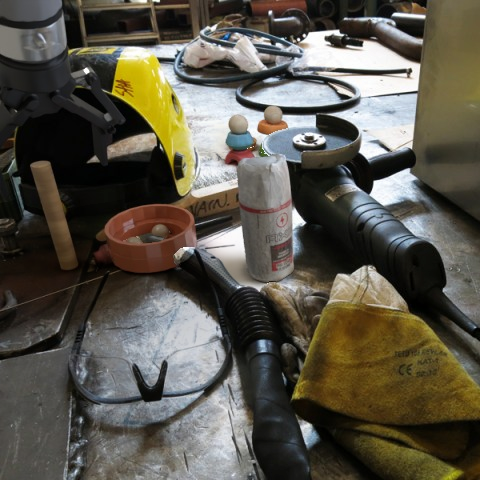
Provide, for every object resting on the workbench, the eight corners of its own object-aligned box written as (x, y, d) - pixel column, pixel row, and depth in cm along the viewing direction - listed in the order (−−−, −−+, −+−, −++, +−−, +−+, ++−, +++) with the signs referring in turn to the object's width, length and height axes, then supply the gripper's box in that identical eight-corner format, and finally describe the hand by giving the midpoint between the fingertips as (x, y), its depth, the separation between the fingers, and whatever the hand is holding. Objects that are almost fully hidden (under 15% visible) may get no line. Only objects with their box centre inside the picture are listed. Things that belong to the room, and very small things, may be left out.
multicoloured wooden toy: (241, 139, 135) (239, 95, 128) (294, 151, 128) (294, 104, 121) (199, 159, 121) (194, 110, 114) (255, 174, 114) (253, 122, 108)
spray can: (250, 288, 75) (243, 170, 65) (238, 261, 82) (230, 149, 72) (301, 278, 78) (302, 163, 68) (285, 252, 84) (284, 144, 74)
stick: (57, 266, 79) (26, 164, 70) (72, 260, 81) (44, 159, 71) (66, 272, 78) (36, 168, 68) (81, 265, 79) (53, 163, 70)
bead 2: (149, 240, 85) (146, 226, 84) (162, 234, 87) (160, 219, 86) (160, 246, 84) (157, 231, 82) (173, 239, 86) (171, 224, 84)
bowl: (94, 257, 81) (86, 226, 78) (161, 225, 92) (156, 197, 89) (148, 287, 75) (142, 255, 72) (214, 249, 85) (211, 219, 82)
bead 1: (122, 254, 81) (119, 239, 80) (137, 246, 83) (134, 231, 82) (133, 260, 80) (130, 244, 78) (148, 252, 82) (145, 237, 80)
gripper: (-99, 91, 44) (-35, 226, 60) (153, 45, 58) (149, 165, 74) (-128, 41, 46) (-59, 184, 62) (121, 9, 60) (124, 132, 76)
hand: (54, 174), depth 68 cm, fingers open, 13 cm apart
